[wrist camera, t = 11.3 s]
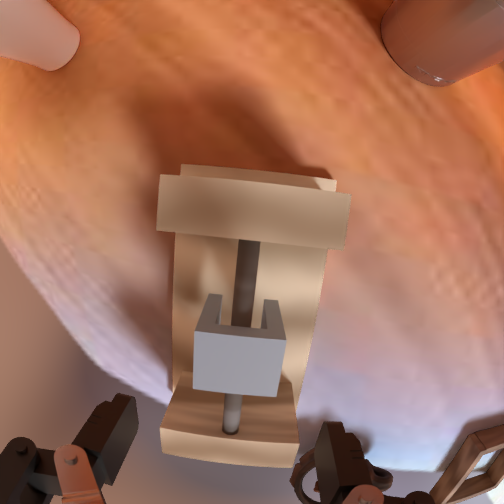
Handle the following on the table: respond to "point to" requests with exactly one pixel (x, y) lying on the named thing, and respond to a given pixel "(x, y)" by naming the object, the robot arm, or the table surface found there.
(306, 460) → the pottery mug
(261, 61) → the table surface
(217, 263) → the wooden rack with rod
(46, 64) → the drinking glass
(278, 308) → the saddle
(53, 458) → the robot arm
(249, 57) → the table surface
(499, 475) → the open wooden frame
